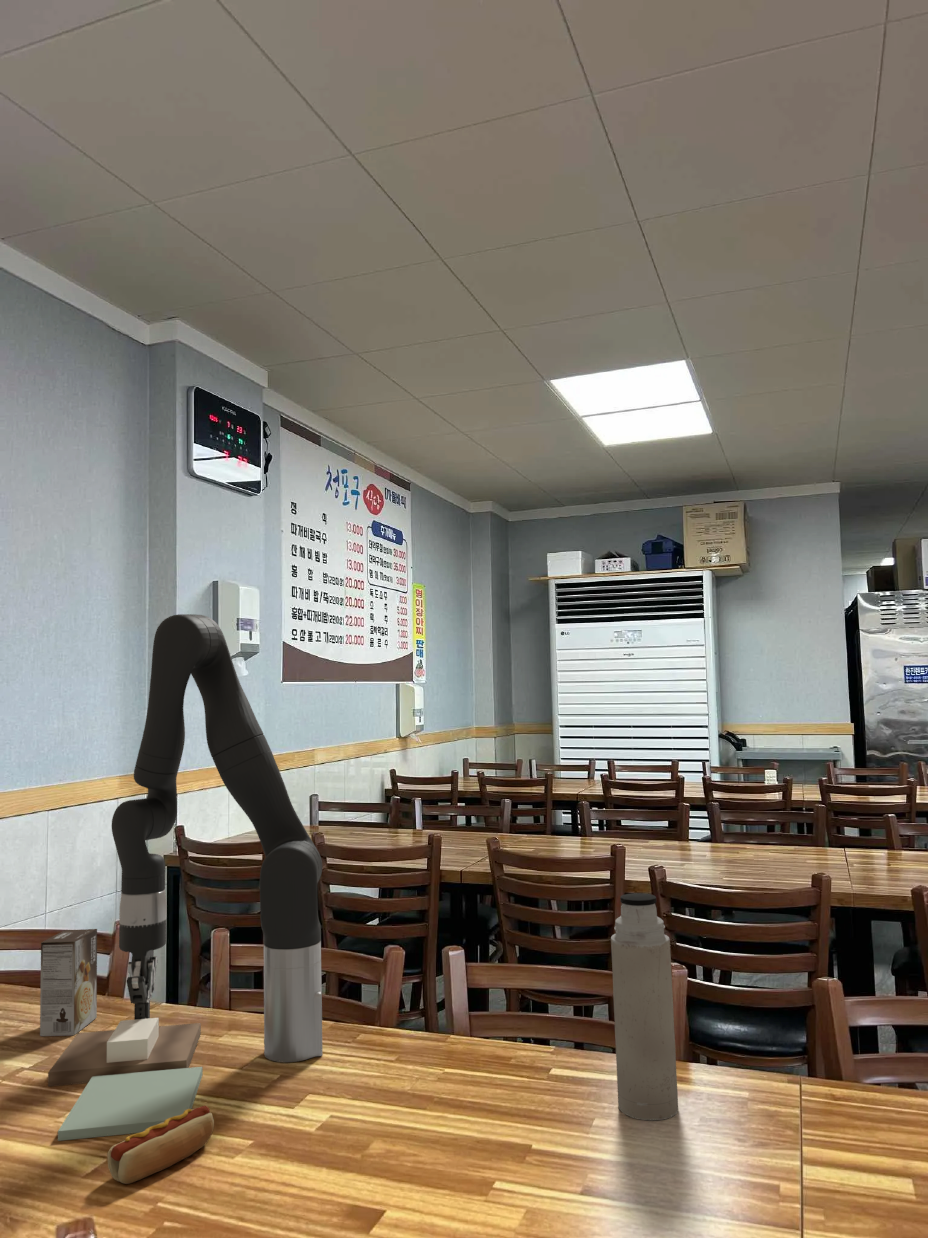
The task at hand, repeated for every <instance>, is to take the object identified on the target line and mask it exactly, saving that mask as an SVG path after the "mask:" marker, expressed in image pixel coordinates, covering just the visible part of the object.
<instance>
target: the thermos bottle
mask: <svg viewBox="0 0 928 1238" xmlns="http://www.w3.org/2000/svg"><path fill="white" fill-rule="evenodd" d="M619 897H620V903H621V906H620V916H618V917H617V918H616V919H615V922H614V923H615V925H614V927H613V928H614V931H615V933H614V934H612V935H611V937H610V945H611V963H612V964H611V965H612V966H611V967H612V970H611V971H612V991H613V992H612V993H613V994H612V995H613V1013H614V1016H613V1017H614V1037H615V1039H614V1040H615V1057H616V1059H615V1060H616V1061H615V1062H616V1084H617V1085H616V1086H617V1104H618V1105H617V1106H618V1108H619V1111H620V1112H622V1114H624V1115H626V1116H628V1117H630V1118H632V1119H638V1120H642V1121H662V1120H666V1119H670V1118H672V1117H674V1116H675V1115H676V1114H677V1113H678V1111H679V1096H678V1095H679V1094H678V1079H677V1078H678V1076H677V1056H676V1040H675V1039H676V1037H675V1019H674V1017H675V1016H674V1003H673V1002H674V999H673V997H674V996H673V978H672V960H671V959H672V958H671V957H672V956H671V942H670V941H671V940H670V937H669V936H668V935H667V934H665V928H666V926H665V924H664V920H663V919H662V918H661V917H659V916H658V912H657V909H658V908H657V906H656V904H657V897H656V896H655V895H654V894H651V893H650V894H649V893H640V892H638V893H637V892H635V893H633V892H632V893H625V894H622V895H620V896H619Z"/></svg>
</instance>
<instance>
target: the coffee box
mask: <svg viewBox="0 0 928 1238" xmlns="http://www.w3.org/2000/svg"><path fill="white" fill-rule="evenodd" d="M97 979H98V928H90V929H88V928H87V929H84V928H83V929H66V930H62V931H60V932H59V933H56V934H55V935H53V936H50V937H49V938H47V939H45V940H43V941H42V942H41V943H40V994H39V995H40V1000H39V1001H40V1003H39V1005H40V1006H39V1007H40V1009H39V1013H40V1014H39V1016H40V1017H39V1036H40V1037H61V1036H63V1037H64V1036H65V1037H66V1036H67V1037H68V1036H76V1035H77V1034H78V1033H80V1031H81V1030H83V1029H84V1028H86V1026H88V1025H89V1024H91V1023H92V1022H93V1021H94V1020H95V1019H97V1018H98V1017H97V1015H98V1014H97V1013H98V1012H97V1010H98V1008H97V1005H98V993H97V992H98V984H97V982H98V980H97Z"/></svg>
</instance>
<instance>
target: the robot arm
mask: <svg viewBox="0 0 928 1238" xmlns="http://www.w3.org/2000/svg"><path fill="white" fill-rule="evenodd" d="M151 655H152V656H151V669H150V670H151V671H150V672H151V673H150V680H149V681H150V682H149V690H148V691H149V692H148V701H147V708H146V709H147V711H146V717H145V722H144V729H143V734H142V738H141V742H140V745H139V749H138V754H137V758H136V762H135V766H134V770H133V780H134V781H135V783H136V784H137V785H139V786H140V787H143V788H146V789H147V797H145V798H139V799H137V798H136V799H130V800H126V801H123V802H121V803H120V804H119V805H118V806H117V807H116V809H115V811H114V813H113V815H112V819H111V834H112V837H113V841H114V844H115V848H116V853H117V857H118V861H119V863H120V868H121V881H120V882H121V886H120V887H121V888H120V889H121V894H120V895H121V896H120V902H119V913H118V915H119V917H118V918H119V922H118V925H119V926H118V927H119V929H118V930H119V931H118V932H119V933H118V948H119V950H121V951H122V952H124V953H125V952H126V953H131V954H132V955H131V961H129V962H128V963H127V964H128V966H127V969H128V970H127V972H128V974H129V976H128V977H127V978H126V985H127V990H128V995H129V1000H130V1004H133V1005H134V1011H133V1012H134V1016H133V1020H136V1019H148V1018H151V1000H152V997H153V994H152V993H154V991H155V983H156V982H155V981H156V972H157V965H158V958H157V957H158V956H156V955H154V954H155V953H154V952H155V951H156V950H159V949H162V948H164V946H166V944H167V918H168V917H167V915H168V914H167V910H168V909H167V907H168V905H167V895H166V861H165V858H164V857H163V856H162V855H160V854H157V853H150V852H149V849H148V846H147V844H146V843H147V842H146V841H150V840H154V839H160V838H163V837H165V836H167V835H168V834H169V833H170V832H171V831H172V829H173V827H174V826H175V823H176V821H177V816H178V798H177V797H178V796H177V795H178V794H177V793H178V792H177V791H178V788H177V776H178V774H179V768H180V766H181V761H182V756H183V751H184V747H185V739H186V727H185V714H184V702H185V700H184V699H185V694H186V689H187V686H188V682H189V680H190V677H192V678H193V680H194V683H195V684H196V686H197V688H198V691H199V693H200V696H201V699H202V702H203V707H204V724H205V735H206V743H207V744H206V745H207V748H208V750H209V754H210V756H211V758H212V760H213V764H214V765H215V767H216V770H217V772H218V774H219V777H220V780H221V781H222V783H223V785H224V786H225V788H226V789H227V791H228V793H229V794H230V796H231V797H232V798H233V799H234V801H235V802H236V803H237V804H238V806H239V808H240V809H241V810H242V812H244V814H245V815H246V816H247V818H248V819H249V820H250V822H251V823H252V826H253V828H254V829H255V832H256V834H257V837H258V839H259V842H260V844H261V847H262V851H263V853H264V856H265V858H264V859H263V861H262V864H261V867H260V871H259V872H260V874H259V911H260V927H261V930H262V931H261V932H262V934H263V1016H264V1017H263V1022H264V1023H263V1024H264V1025H263V1027H264V1028H263V1034H264V1036H263V1045H264V1049H263V1050H264V1057H265V1058H266V1059H268V1060H270V1061H273V1062H278V1063H293V1062H300V1061H305V1060H308V1059H309V1060H310V1059H312V1058H314V1057H321V1056H323V1006H322V1005H323V1003H322V1002H323V1001H322V999H323V997H322V996H323V995H322V994H323V991H322V987H323V986H322V930H321V929H322V926H321V922H320V919H319V908H318V903H319V901H318V883H319V881H320V880H321V877H322V874H323V861H322V857H321V854H320V852H319V850H318V848H317V847H316V845H315V844H314V842H313V840H312V838H311V837H310V835H309V834H308V832H307V830H306V828H305V826H304V825H303V823H302V821H301V819H300V818H299V816H298V814H297V812H296V809H295V807H294V806H293V804H292V801H291V799H290V796H289V793H288V791H287V787H286V785H285V782H284V778H283V777H282V773H281V772H280V769H279V767H278V764H277V762H276V759H275V757H274V754H273V751H272V749H271V747H270V745H269V743H268V740H267V739H266V736H265V735H264V732H263V730H262V727H261V726H260V724H259V721H258V720H257V718H256V715H255V713H254V711H253V709H252V707H251V703H250V701H249V699H248V697H247V695H246V693H245V691H244V688H243V687H242V685H241V682H240V680H239V677H238V674H237V671H236V669H235V665H234V662H233V659H232V657H231V653H230V649H229V646H228V644H227V641H226V638H225V635H224V633H223V631H222V629H221V627H220V626H219V624H218V623H217V622H216V621H215V620H213V618H212V617H209V616H206V615H204V614H194V613H193V614H192V613H191V614H190V613H188V614H187V613H184V614H183V613H181V614H180V613H179V614H174V615H170V616H168V617H166V618H164V619H163V620H162V621H161V622H160V624H158V626H157V628H156V630H155V634H154V639H153V646H152V654H151Z"/></svg>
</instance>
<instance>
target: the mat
mask: <svg viewBox="0 0 928 1238" xmlns="http://www.w3.org/2000/svg"><path fill="white" fill-rule="evenodd" d="M202 1077H203V1066H196V1067H195V1066H192V1067H189V1068H182V1069H170V1070H159V1071H148V1072H137V1073H126V1074H115V1075H104V1076H93V1077H92V1078H91V1079H90V1081H89V1082H88V1083H86V1086H85V1087H84V1088H83V1090H82V1092H81V1094H80V1095H79V1097H78V1099H77V1100H76V1102H75V1103H74V1105H73V1106H72V1108H71V1110H70V1111H69V1113H68V1114H67V1116H66V1118H65V1119H64V1121H63V1123H61V1126H60V1128H59V1129H58V1131H57V1142H58V1141H59V1142H60V1141H71V1140H80V1139H89V1138H100V1137H110V1136H112V1137H113V1136H120V1135H129V1134H130V1135H132V1134H137V1133H140V1132H143V1131H145V1130H146V1129H147V1128H149V1127H151V1126H155V1125H157V1124H160V1123H162V1122H164V1121H165V1120H166V1119H168V1118H171V1117H174V1116H178V1115H181V1114H183V1113H184V1111H185V1110H187V1109H191V1110H192V1109H193V1105H194V1102H195V1099H196V1096H197V1093H198V1090H199V1088H200V1087H199V1086H200V1084H201V1080H202Z"/></svg>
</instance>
